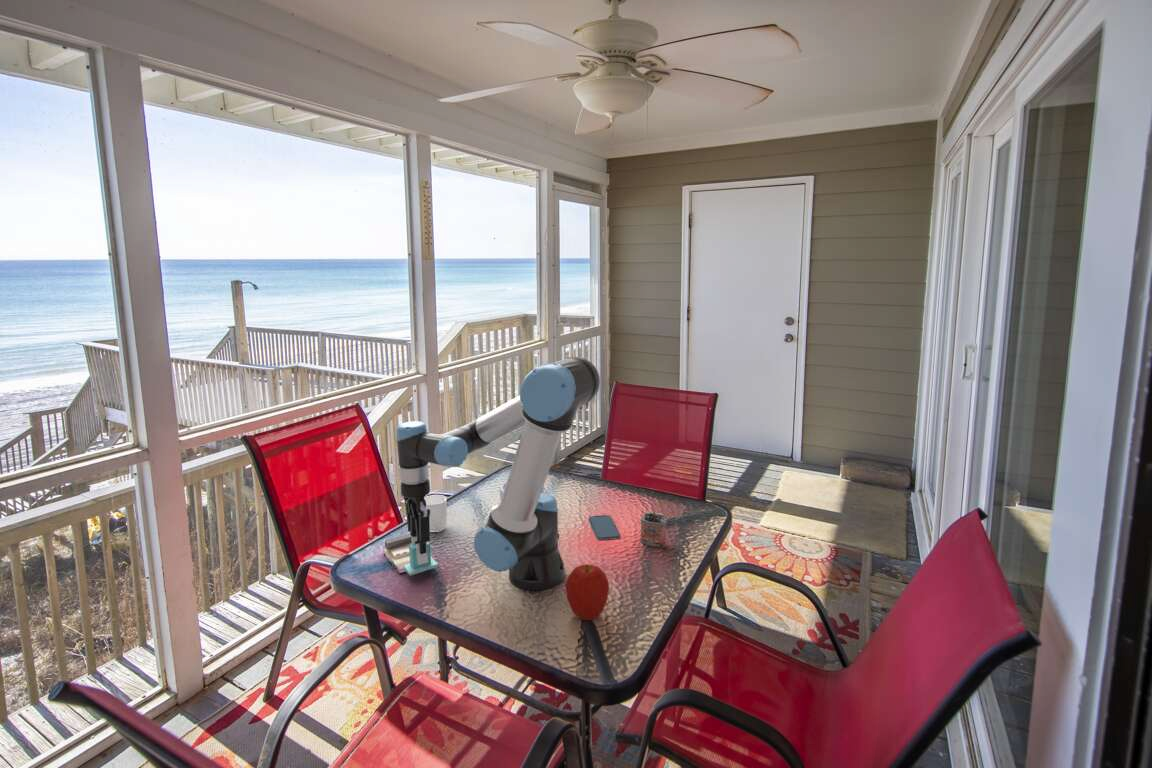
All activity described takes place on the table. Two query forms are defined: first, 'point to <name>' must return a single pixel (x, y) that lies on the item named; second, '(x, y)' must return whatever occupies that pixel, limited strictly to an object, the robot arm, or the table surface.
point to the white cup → (436, 511)
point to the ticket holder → (399, 550)
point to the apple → (587, 591)
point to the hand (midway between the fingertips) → (420, 560)
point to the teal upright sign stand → (413, 566)
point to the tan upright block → (653, 529)
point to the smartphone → (604, 527)
